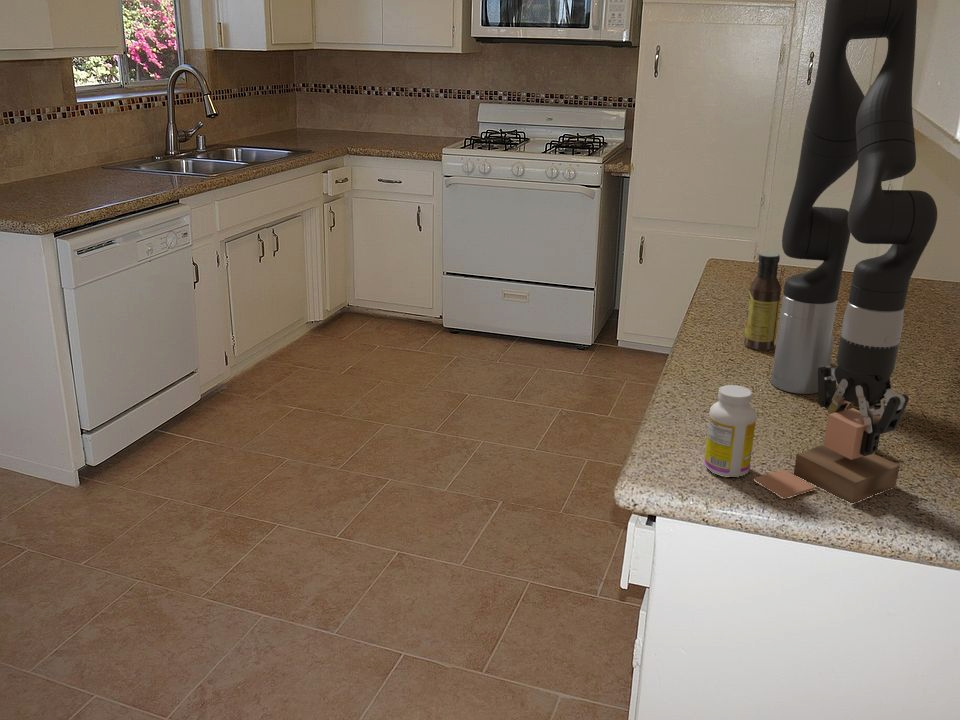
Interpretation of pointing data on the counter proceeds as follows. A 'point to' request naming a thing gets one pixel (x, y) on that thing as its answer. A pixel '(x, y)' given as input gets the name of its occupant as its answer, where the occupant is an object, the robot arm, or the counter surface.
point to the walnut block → (846, 473)
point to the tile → (784, 483)
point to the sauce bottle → (763, 304)
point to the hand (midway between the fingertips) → (850, 445)
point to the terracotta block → (845, 433)
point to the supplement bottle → (730, 432)
